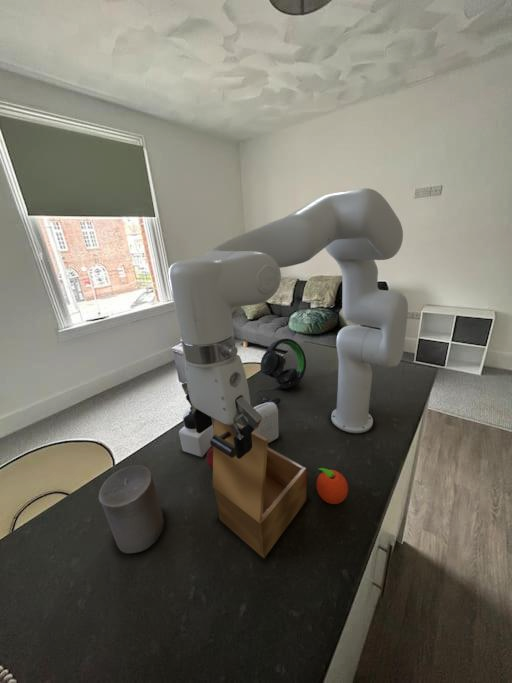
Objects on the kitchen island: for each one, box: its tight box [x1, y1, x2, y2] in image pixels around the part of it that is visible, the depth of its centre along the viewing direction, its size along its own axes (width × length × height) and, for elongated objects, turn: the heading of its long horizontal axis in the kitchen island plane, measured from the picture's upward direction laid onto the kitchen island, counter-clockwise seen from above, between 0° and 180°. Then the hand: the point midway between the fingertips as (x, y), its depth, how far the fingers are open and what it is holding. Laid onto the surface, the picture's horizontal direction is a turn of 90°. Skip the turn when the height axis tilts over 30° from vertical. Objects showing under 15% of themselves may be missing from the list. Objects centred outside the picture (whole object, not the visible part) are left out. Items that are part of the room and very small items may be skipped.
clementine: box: [315, 467, 349, 505], centre depth 63 cm, size 8×7×7 cm
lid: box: [210, 418, 269, 523], centre depth 50 cm, size 16×13×5 cm
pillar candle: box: [98, 464, 165, 554], centre depth 57 cm, size 10×10×15 cm
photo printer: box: [253, 402, 280, 444], centre depth 80 cm, size 10×4×12 cm, turn 123°
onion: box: [205, 446, 213, 470], centre depth 73 cm, size 6×6×8 cm
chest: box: [213, 446, 307, 559], centre depth 61 cm, size 16×13×10 cm
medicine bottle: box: [178, 409, 214, 458], centre depth 80 cm, size 7×7×12 cm
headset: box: [256, 338, 307, 407], centre depth 105 cm, size 18×14×29 cm
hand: (223, 440), depth 47 cm, fingers open, 9 cm apart
